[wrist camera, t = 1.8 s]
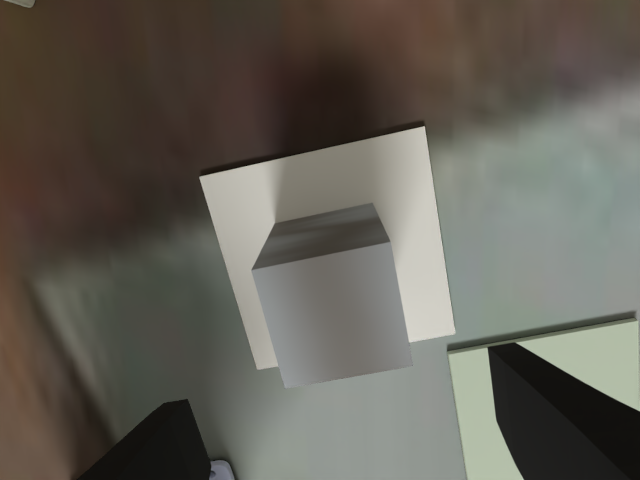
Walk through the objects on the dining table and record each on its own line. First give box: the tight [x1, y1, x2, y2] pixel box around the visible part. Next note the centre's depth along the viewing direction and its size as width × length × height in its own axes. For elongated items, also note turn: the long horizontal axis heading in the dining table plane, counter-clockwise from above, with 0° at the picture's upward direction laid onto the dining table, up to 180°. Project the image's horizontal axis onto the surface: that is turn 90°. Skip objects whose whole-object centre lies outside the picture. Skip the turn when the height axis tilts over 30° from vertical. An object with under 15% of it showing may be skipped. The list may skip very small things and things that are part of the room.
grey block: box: [251, 203, 413, 389], centre depth 17 cm, size 4×4×6 cm
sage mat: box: [447, 318, 640, 480], centre depth 22 cm, size 9×9×1 cm
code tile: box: [199, 126, 455, 370], centre depth 20 cm, size 10×10×1 cm
